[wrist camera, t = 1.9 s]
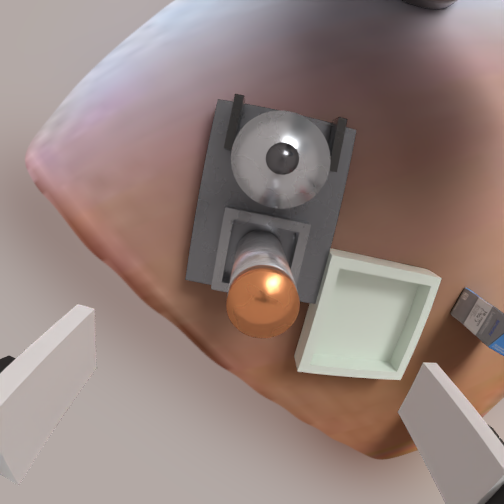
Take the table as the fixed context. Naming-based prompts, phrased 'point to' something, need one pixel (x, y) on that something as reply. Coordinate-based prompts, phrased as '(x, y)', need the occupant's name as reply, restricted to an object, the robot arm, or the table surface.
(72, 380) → the robot arm
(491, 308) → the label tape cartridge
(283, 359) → the table surface
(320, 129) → the grey holder rack
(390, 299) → the tray
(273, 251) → the copper capped bottle
